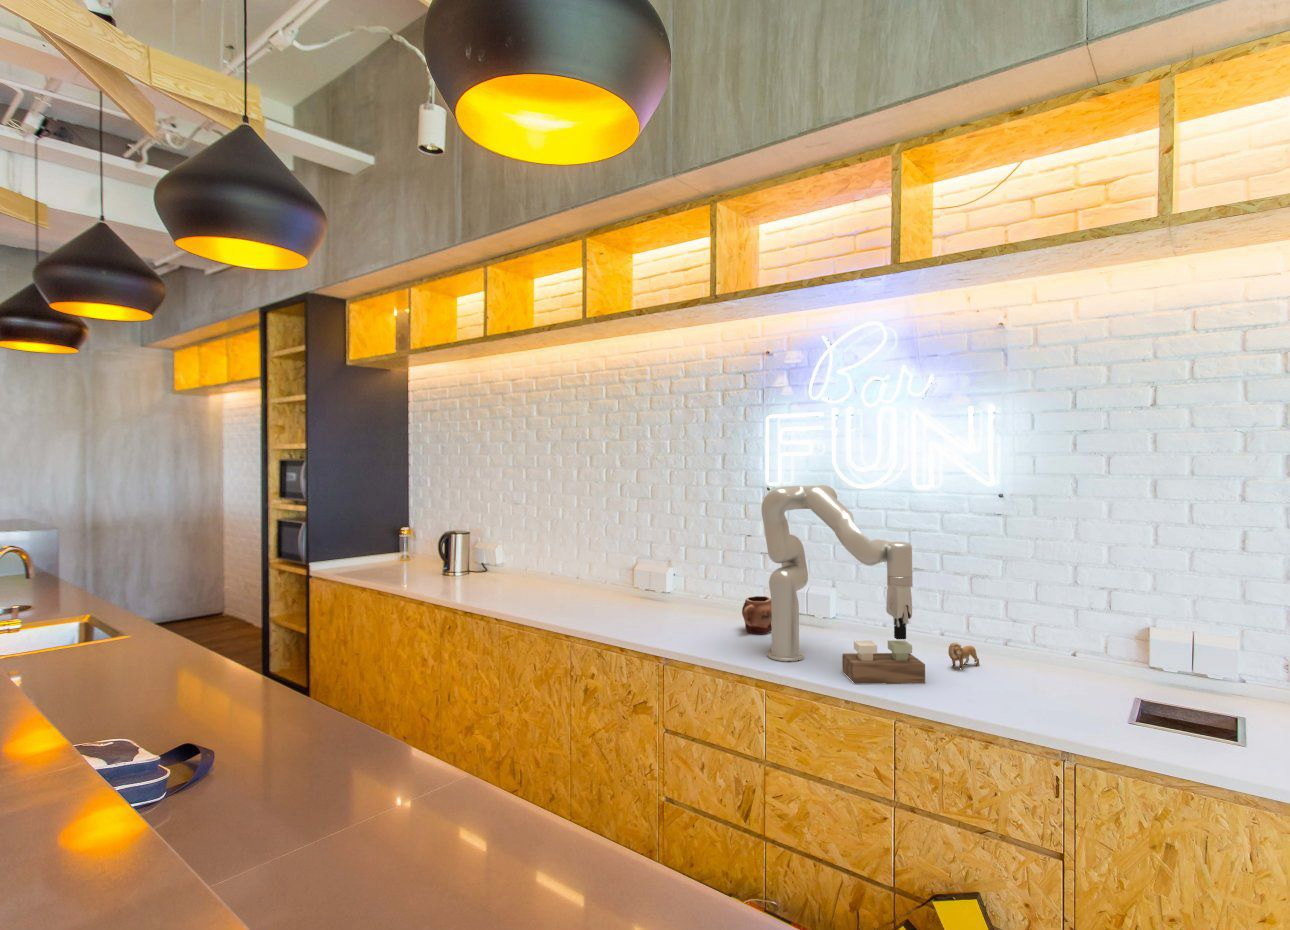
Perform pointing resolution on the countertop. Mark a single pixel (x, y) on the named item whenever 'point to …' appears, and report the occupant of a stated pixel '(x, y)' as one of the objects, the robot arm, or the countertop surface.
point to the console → (883, 669)
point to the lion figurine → (962, 654)
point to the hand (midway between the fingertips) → (900, 638)
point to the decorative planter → (757, 614)
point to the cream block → (865, 650)
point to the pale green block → (900, 650)
